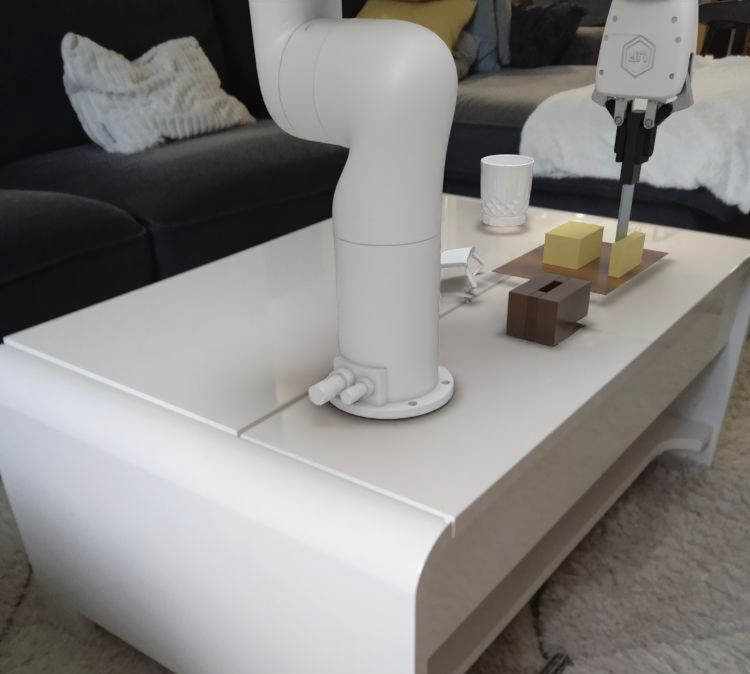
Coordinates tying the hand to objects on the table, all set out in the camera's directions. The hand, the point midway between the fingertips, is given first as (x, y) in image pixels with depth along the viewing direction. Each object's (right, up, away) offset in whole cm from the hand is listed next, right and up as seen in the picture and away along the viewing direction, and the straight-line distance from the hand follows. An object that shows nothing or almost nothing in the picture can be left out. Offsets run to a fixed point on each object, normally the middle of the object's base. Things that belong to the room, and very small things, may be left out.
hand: (632, 160), depth 99 cm
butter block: (-5, -9, +11) cm, 15 cm away
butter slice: (+1, -11, +7) cm, 13 cm away
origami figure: (-21, -15, +5) cm, 26 cm away
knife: (0, -8, +5) cm, 10 cm away
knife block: (-12, -22, -6) cm, 25 cm away
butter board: (-3, -10, +11) cm, 15 cm away
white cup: (-11, +1, +29) cm, 31 cm away
